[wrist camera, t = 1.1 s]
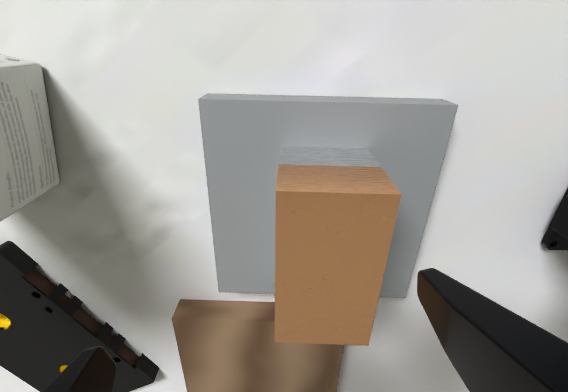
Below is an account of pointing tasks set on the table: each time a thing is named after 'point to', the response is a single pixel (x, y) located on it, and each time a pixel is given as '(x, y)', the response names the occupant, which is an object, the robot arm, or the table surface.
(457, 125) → the table surface
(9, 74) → the skincare box
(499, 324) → the robot arm
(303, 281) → the block
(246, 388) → the walnut stand
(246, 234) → the grey stand
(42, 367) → the cassette tape
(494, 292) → the table surface
